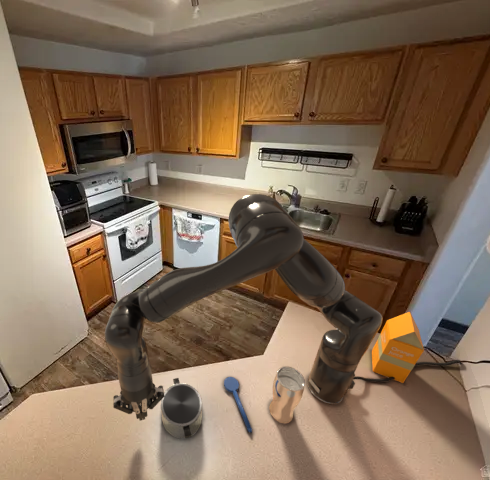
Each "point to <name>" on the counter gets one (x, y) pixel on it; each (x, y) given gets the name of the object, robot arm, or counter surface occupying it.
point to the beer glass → (286, 393)
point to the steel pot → (181, 410)
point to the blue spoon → (237, 398)
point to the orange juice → (397, 348)
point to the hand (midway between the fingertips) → (142, 416)
